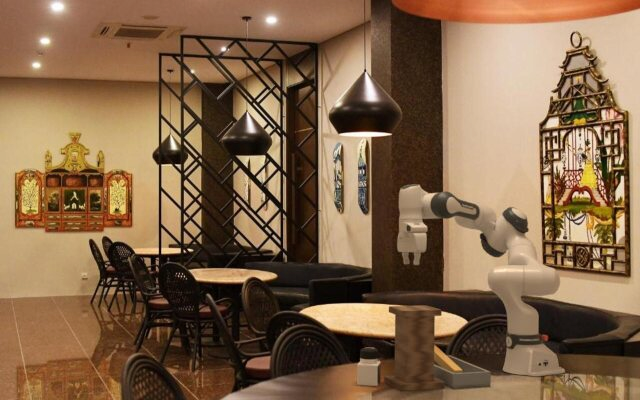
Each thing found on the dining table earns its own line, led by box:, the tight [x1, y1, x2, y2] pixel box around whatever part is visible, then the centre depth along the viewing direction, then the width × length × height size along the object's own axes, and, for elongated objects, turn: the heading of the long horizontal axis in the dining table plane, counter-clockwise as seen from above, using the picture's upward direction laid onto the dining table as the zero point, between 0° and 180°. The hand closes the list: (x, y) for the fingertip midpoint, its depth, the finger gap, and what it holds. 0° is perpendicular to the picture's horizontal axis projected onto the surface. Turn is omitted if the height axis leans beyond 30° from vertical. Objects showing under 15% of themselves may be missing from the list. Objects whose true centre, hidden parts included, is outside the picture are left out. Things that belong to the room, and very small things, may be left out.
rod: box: [434, 344, 462, 373], centre depth 291 cm, size 3×24×3 cm, turn 17°
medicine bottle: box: [356, 347, 382, 387], centre depth 275 cm, size 7×7×12 cm
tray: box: [434, 355, 492, 390], centre depth 284 cm, size 14×30×5 cm, turn 18°
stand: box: [383, 304, 446, 392], centre depth 273 cm, size 16×14×26 cm
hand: (411, 264), depth 302 cm, fingers open, 8 cm apart
